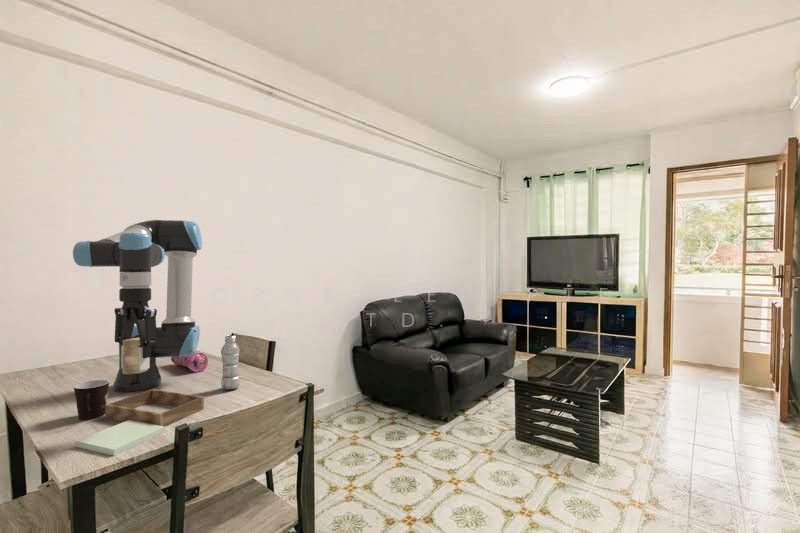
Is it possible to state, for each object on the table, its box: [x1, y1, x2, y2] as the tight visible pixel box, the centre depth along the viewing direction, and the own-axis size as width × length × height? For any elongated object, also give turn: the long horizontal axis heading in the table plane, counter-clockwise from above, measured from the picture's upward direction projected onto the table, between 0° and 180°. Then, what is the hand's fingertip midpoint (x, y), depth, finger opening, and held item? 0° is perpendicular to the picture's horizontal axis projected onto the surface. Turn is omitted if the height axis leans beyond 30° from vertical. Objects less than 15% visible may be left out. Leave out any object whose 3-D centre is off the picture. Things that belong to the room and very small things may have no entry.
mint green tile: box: [75, 420, 166, 456], centre depth 104 cm, size 14×14×2 cm
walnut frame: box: [104, 388, 205, 428], centre depth 122 cm, size 23×16×4 cm
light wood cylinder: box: [123, 338, 148, 374], centre depth 110 cm, size 6×6×9 cm
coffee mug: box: [73, 379, 110, 421], centre depth 118 cm, size 12×9×10 cm
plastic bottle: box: [220, 334, 241, 391], centre depth 145 cm, size 6×7×20 cm
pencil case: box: [170, 351, 209, 373], centre depth 173 cm, size 21×9×9 cm, turn 51°
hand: (135, 368), depth 110 cm, fingers closed on light wood cylinder, 6 cm apart
